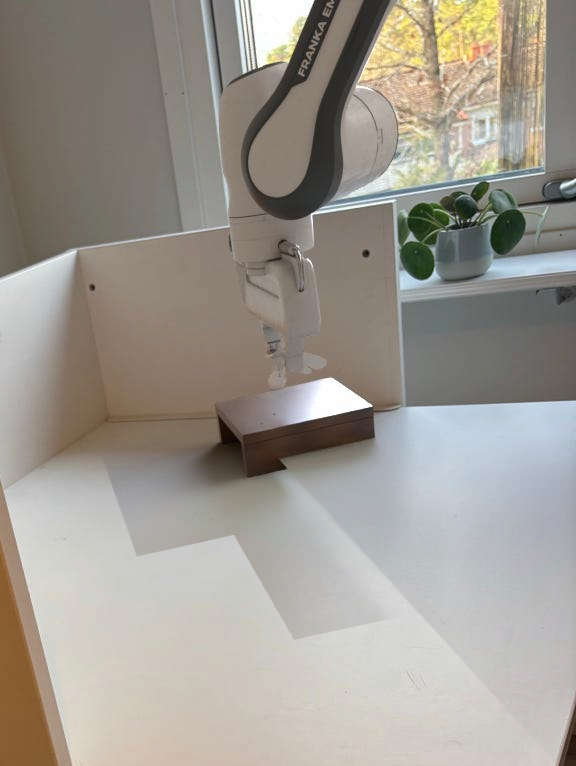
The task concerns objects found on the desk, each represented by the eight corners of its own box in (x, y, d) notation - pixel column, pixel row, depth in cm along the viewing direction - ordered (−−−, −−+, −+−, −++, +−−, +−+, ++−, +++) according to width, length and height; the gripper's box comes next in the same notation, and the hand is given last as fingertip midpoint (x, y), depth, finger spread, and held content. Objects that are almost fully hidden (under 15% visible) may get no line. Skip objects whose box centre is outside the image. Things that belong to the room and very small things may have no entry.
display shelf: (334, 415, 123) (331, 377, 120) (376, 448, 109) (373, 406, 107) (219, 441, 123) (214, 403, 120) (247, 477, 109) (242, 435, 107)
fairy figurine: (247, 385, 109) (258, 331, 111) (268, 416, 115) (278, 364, 117) (299, 381, 106) (309, 326, 108) (318, 412, 112) (327, 360, 113)
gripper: (330, 239, 96) (340, 376, 102) (275, 224, 114) (287, 341, 120) (268, 252, 96) (282, 389, 102) (224, 235, 114) (238, 352, 120)
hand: (285, 363), depth 111 cm, fingers closed on fairy figurine, 6 cm apart
